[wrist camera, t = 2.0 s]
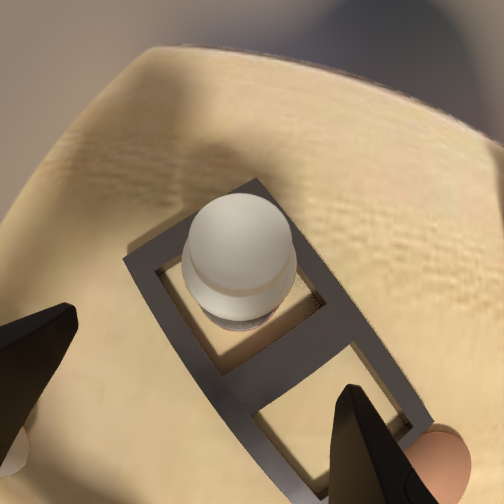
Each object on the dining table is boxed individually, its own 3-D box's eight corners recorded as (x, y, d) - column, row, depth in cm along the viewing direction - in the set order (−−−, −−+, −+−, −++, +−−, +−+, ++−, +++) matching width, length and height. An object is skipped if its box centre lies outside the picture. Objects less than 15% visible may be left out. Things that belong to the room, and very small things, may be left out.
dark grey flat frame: (305, 514, 16) (309, 521, 15) (127, 263, 21) (122, 258, 20) (425, 419, 18) (434, 421, 17) (255, 185, 24) (256, 177, 23)
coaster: (393, 555, 14) (395, 558, 14) (335, 495, 17) (338, 498, 16) (480, 476, 16) (484, 477, 16) (439, 405, 19) (443, 406, 18)
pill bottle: (283, 329, 20) (318, 304, 11) (200, 334, 20) (167, 313, 11) (275, 251, 22) (299, 174, 13) (197, 255, 22) (169, 180, 13)
